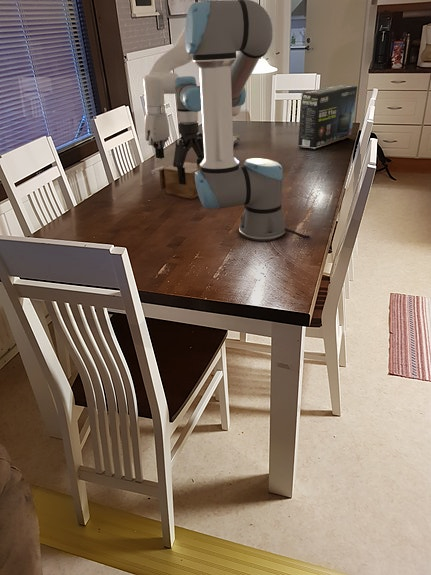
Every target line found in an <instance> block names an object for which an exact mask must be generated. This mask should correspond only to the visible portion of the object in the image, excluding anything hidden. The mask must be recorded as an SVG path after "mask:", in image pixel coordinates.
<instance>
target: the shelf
mask: <svg viewBox="0 0 431 575" xmlns="http://www.w3.org/2000/svg"><path fill="white" fill-rule="evenodd" d="M171 165H173V163H172V164H169V165H167V166H164V165H163V166H160V167H157V168H154V169H152V170H151V174H152V175H156V174H158V175H159V182H160V189H161V190H166V185H165V174H164V168H166V167H168V166H171Z"/></svg>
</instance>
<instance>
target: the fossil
mask: <svg viewBox="0 0 431 575" xmlns="http://www.w3.org/2000/svg"><path fill="white" fill-rule="evenodd" d="M237 140H239V141H241V138H240V135H239V134H237V133H234V132H233V146H234V145H235V144H236V143H237V142H238V141H237ZM236 141H237V142H236Z"/></svg>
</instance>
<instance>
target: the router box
mask: <svg viewBox="0 0 431 575" xmlns="http://www.w3.org/2000/svg"><path fill="white" fill-rule="evenodd" d="M357 93H358V86H356V85H350V84H339V85H338V84H337V85H334V86H328V87H324V88H318V89H314V90H309V91H304V92H301V93H300V109H299V110H300V111H299V124H298V137H297V146H298V145H302V146H307V147H317V146H320V145H323V144H325V143H328V142H331V141H333V140H336V139H338V138H341V137H344V136H347V135H351V136H352V133H353V132H352V131H353V125H354V115H355V109H356V99H357ZM311 151H313V150H312V149H311Z"/></svg>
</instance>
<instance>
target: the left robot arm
mask: <svg viewBox="0 0 431 575" xmlns="http://www.w3.org/2000/svg"><path fill="white" fill-rule="evenodd" d="M190 62H193V54H191V55H190V54H188V53H187V51H186V44H185V26H184V27H183V29H182V31H181V32H180V35H179V36H178V38H177V40H176V41H175V44H174V46H172V47H171V48H170V49H169V50H167V51H166V52H164V54H162V55H161V56H160V57H159V58H158V59H157V60H156V61H155V62H154V64H153V65H152V67H151V69H150V71H149V73H148V74H147V75H144V76H143V79H142V81H143V90H144V91H143V92H144V103H145V115H144V138H145V141H146V142H148V146H152V147H153V149H154V152H155V153H154V154H155V158H156V159H159V160H160V159H161V160H163V159H164V158H165V151H164V150H165V149H164V148H165V147H166V146H165V145H166V142H168V141H169V138H170V124H169V118H168V114H167V109H166V108H167V105H166V95H176V89H175V80H176V78H177V77H181V76H180V75H179V74H178V73H176V72H171V71H173V70H176V69H177V68H181V67H182V66H185V65H187V64H189V63H190ZM241 108H242V105H241V106H236V107H232V117H237V116H238V115H239V114H240V112H241V111H242V110H241Z"/></svg>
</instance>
